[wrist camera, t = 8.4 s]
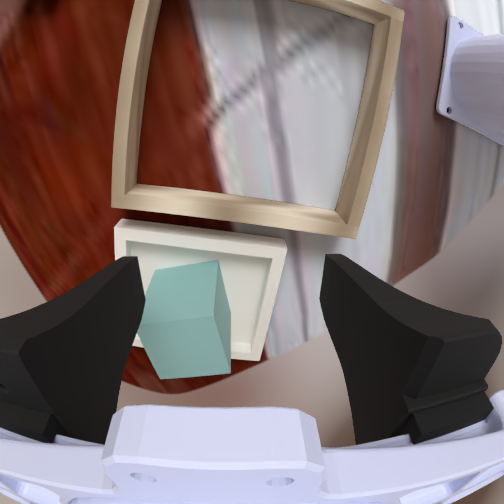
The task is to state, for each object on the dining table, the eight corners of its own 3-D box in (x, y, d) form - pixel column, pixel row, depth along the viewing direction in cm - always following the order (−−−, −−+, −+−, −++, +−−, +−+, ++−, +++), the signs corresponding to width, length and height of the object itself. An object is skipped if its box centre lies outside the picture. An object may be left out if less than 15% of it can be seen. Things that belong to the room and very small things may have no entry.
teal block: (218, 259, 21) (213, 315, 16) (230, 312, 23) (230, 372, 18) (155, 269, 21) (133, 325, 16) (173, 320, 23) (160, 379, 18)
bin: (386, 18, 15) (404, 11, 12) (343, 223, 21) (355, 239, 19) (155, -23, 13) (145, -37, 11) (124, 194, 19) (111, 207, 17)
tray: (284, 238, 21) (287, 248, 20) (258, 348, 26) (259, 360, 24) (121, 218, 20) (114, 227, 19) (127, 331, 24) (122, 343, 23)
